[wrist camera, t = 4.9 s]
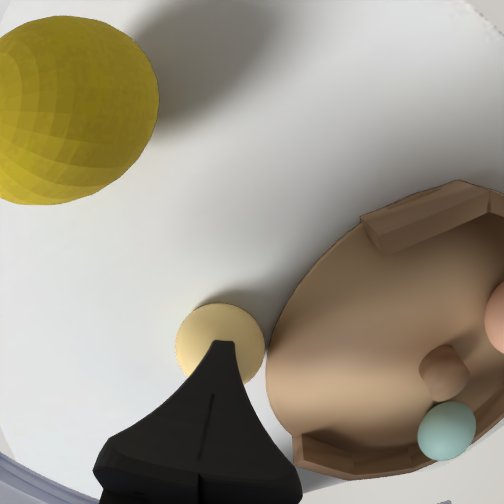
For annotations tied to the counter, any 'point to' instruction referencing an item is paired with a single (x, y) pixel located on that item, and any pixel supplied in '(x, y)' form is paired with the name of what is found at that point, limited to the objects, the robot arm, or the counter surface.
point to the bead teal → (446, 431)
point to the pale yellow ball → (220, 338)
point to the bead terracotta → (495, 318)
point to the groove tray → (391, 334)
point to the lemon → (71, 108)
